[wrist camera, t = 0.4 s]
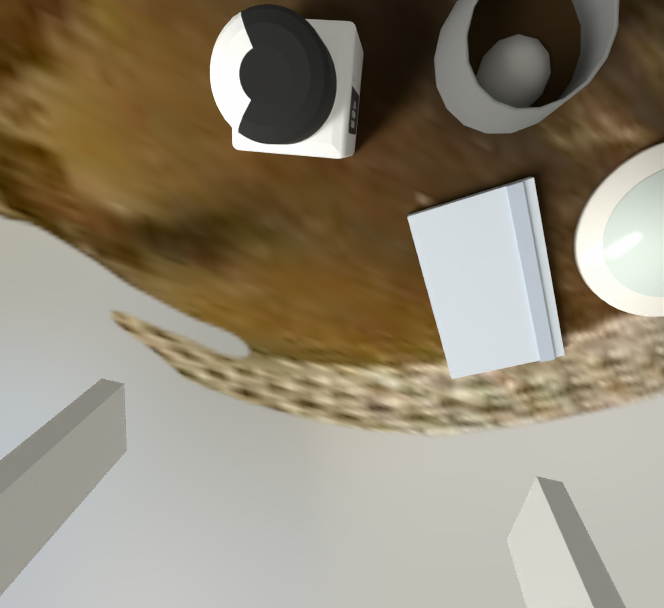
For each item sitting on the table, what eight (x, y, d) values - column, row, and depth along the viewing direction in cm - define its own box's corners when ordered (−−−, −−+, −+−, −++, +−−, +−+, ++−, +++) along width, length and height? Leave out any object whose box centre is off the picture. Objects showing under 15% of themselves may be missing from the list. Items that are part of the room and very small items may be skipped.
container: (364, 48, 31) (346, -13, 19) (354, 156, 34) (333, 162, 22) (265, 42, 32) (188, -20, 20) (263, 148, 35) (195, 150, 23)
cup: (582, 90, 30) (665, 66, 21) (462, 159, 33) (489, 163, 24) (532, -43, 28) (602, -136, 19) (408, 42, 31) (414, -2, 21)
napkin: (406, 215, 35) (407, 217, 34) (529, 176, 33) (535, 177, 31) (450, 373, 40) (452, 380, 39) (560, 350, 37) (565, 356, 36)
